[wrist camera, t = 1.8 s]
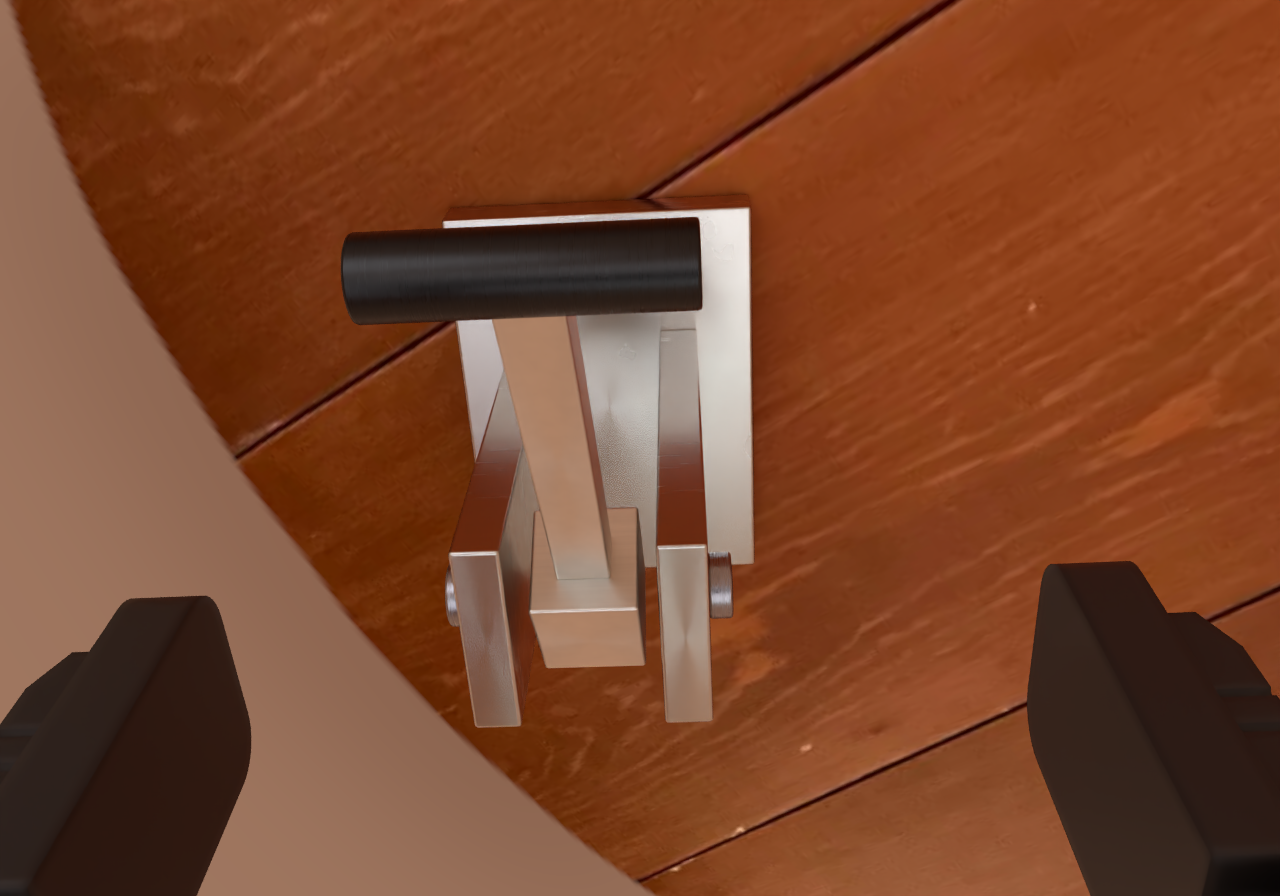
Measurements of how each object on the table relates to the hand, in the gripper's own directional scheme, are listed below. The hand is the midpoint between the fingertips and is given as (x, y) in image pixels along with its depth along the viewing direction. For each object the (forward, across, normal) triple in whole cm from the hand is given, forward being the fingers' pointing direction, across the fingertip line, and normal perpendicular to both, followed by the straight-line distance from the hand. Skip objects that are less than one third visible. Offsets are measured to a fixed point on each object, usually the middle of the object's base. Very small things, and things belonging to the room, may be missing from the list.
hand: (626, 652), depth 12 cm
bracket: (+22, +1, +7) cm, 23 cm away
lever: (+10, +1, +3) cm, 11 cm away
